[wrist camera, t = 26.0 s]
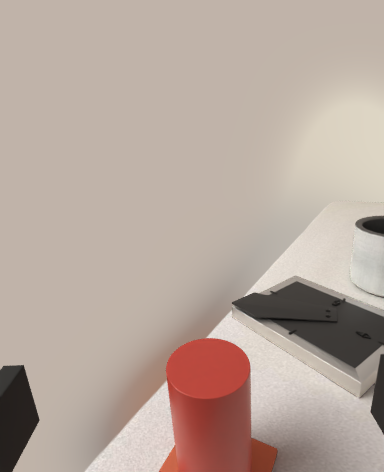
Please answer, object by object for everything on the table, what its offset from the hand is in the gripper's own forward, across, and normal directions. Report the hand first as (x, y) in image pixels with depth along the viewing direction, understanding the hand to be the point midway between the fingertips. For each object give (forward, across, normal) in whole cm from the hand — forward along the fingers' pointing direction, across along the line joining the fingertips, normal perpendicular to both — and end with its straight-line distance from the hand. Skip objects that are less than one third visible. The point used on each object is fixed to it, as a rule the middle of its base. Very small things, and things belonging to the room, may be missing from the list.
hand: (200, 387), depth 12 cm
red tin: (+10, 0, -20) cm, 23 cm away
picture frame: (+31, +17, -21) cm, 41 cm away
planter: (+43, +33, -20) cm, 58 cm away
